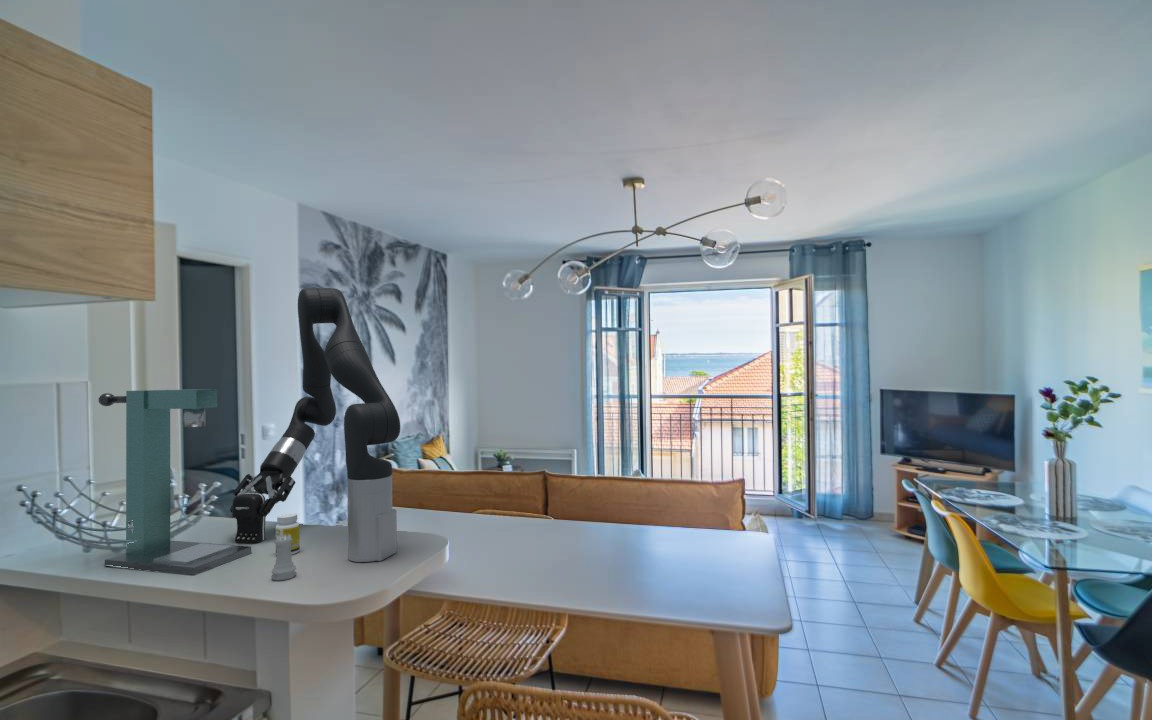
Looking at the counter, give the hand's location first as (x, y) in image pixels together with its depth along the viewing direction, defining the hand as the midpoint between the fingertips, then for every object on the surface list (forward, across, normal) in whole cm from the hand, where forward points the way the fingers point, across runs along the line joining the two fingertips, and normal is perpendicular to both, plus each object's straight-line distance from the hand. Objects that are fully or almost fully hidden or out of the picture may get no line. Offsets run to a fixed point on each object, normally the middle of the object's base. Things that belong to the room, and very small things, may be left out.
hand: (247, 513), depth 134 cm
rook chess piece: (+17, +27, -8) cm, 33 cm away
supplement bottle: (+8, +16, +2) cm, 18 cm away
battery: (+5, 0, +5) cm, 7 cm away
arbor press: (+15, -9, -5) cm, 18 cm away
